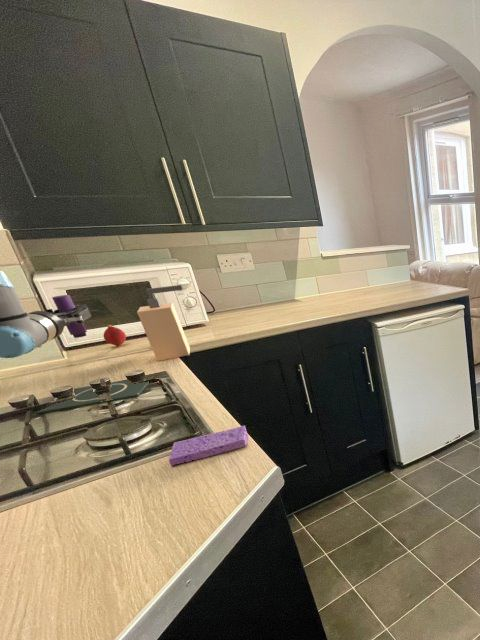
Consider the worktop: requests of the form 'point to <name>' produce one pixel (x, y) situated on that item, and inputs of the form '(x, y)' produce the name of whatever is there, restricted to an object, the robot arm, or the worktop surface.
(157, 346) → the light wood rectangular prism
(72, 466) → the worktop surface
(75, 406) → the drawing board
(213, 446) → the sponge
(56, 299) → the cylinder
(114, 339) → the red rounded lump
